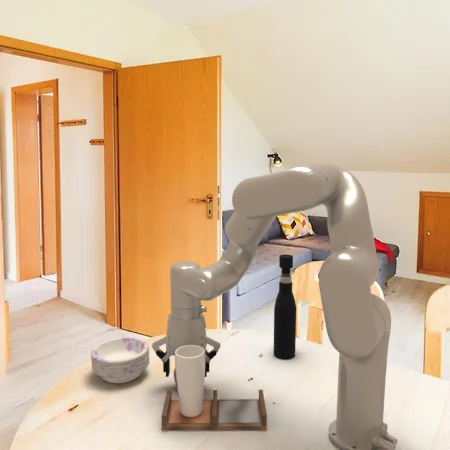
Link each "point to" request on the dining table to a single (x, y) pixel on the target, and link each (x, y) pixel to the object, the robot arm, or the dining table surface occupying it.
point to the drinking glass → (190, 379)
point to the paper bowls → (120, 359)
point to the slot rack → (217, 414)
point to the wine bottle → (285, 313)
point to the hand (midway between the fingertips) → (186, 374)
